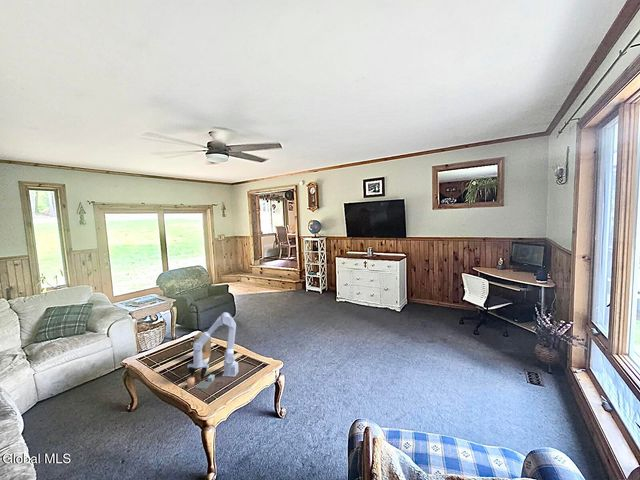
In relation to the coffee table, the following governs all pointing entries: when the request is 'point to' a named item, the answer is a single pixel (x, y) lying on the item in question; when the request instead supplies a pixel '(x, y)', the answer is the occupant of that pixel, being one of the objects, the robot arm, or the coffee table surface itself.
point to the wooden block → (206, 346)
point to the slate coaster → (203, 385)
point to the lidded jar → (205, 357)
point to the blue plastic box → (211, 378)
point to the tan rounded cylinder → (190, 382)
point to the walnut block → (198, 376)
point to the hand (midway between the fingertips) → (198, 377)
